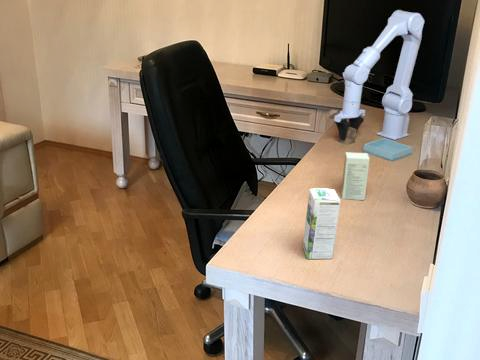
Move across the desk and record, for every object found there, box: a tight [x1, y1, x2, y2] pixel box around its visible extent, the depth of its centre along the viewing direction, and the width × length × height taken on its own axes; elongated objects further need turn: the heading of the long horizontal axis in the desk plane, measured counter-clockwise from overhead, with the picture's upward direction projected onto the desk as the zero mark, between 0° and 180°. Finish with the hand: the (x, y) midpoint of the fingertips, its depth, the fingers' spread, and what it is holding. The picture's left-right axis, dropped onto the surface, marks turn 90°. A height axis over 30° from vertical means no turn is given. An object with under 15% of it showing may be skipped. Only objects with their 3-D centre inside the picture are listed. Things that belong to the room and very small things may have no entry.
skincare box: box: [340, 151, 370, 201], centre depth 142 cm, size 6×4×12 cm
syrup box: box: [302, 187, 341, 260], centre depth 114 cm, size 6×6×14 cm
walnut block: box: [338, 127, 357, 145], centre depth 185 cm, size 4×4×5 cm
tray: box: [362, 137, 414, 162], centre depth 178 cm, size 12×12×2 cm
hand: (347, 138), depth 186 cm, fingers open, 5 cm apart
